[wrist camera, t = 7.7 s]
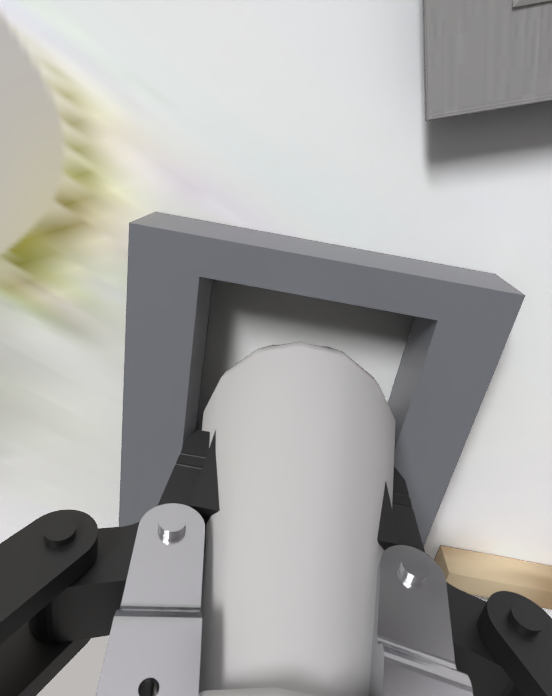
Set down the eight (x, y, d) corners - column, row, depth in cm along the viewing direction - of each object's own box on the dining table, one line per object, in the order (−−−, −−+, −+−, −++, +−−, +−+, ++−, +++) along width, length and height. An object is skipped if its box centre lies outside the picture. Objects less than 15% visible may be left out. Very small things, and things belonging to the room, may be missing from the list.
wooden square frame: (677, 589, 21) (702, 619, 20) (574, 725, 26) (589, 758, 24) (440, 545, 21) (449, 573, 20) (379, 688, 26) (382, 719, 24)
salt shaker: (407, 342, 15) (741, 1044, 3) (355, 476, 18) (442, 1171, 6) (234, 299, 15) (-61, 874, 3) (205, 440, 17) (-28, 1075, 6)
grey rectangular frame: (495, 273, 16) (527, 297, 14) (368, 616, 23) (374, 672, 21) (155, 211, 16) (126, 223, 14) (135, 573, 23) (113, 623, 21)
